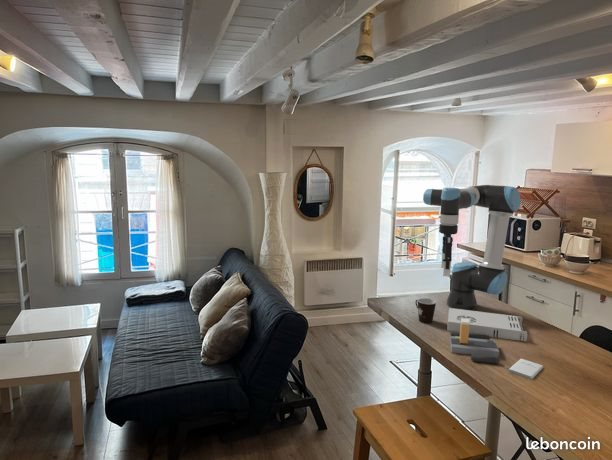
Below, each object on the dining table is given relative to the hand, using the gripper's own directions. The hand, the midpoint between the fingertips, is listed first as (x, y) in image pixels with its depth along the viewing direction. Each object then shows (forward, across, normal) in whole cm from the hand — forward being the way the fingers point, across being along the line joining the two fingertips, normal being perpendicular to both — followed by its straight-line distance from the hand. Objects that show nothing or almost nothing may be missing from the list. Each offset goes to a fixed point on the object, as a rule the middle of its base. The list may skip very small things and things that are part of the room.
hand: (445, 272), depth 193 cm
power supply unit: (+29, -12, +20) cm, 38 cm away
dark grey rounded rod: (+29, +2, +12) cm, 31 cm away
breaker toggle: (+26, +13, +8) cm, 30 cm away
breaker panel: (+29, +13, +12) cm, 34 cm away
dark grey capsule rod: (+29, +24, +15) cm, 40 cm away
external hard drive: (+29, +26, +29) cm, 49 cm away
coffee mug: (+29, -16, -7) cm, 34 cm away
